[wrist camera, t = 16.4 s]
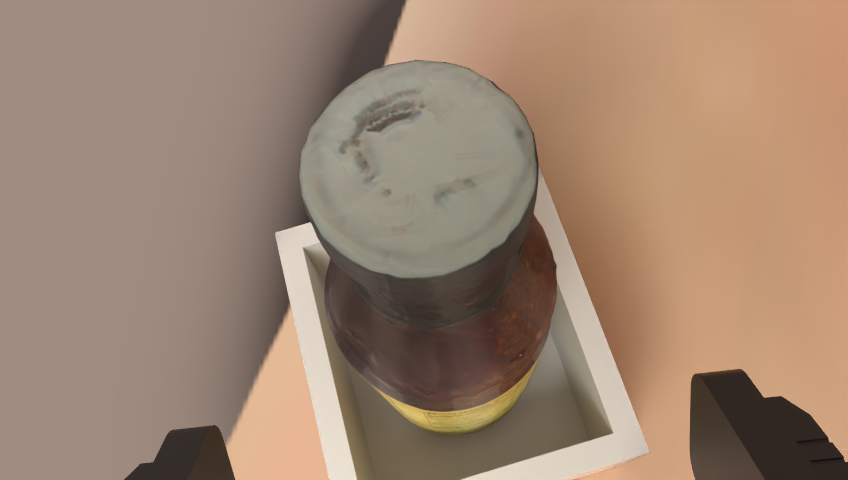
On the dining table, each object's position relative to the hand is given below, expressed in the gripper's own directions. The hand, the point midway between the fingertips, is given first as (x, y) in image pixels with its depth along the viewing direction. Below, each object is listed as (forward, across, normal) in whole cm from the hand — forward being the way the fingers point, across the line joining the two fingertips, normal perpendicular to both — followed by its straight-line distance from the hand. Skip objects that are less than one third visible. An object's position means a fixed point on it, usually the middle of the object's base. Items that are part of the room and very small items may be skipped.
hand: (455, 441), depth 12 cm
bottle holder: (+17, 0, +10) cm, 19 cm away
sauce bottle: (+16, 0, +9) cm, 18 cm away
